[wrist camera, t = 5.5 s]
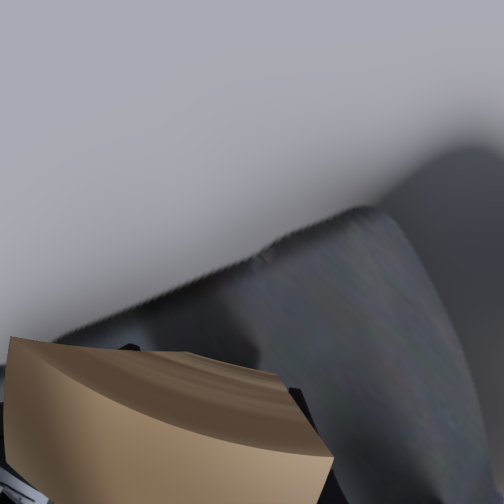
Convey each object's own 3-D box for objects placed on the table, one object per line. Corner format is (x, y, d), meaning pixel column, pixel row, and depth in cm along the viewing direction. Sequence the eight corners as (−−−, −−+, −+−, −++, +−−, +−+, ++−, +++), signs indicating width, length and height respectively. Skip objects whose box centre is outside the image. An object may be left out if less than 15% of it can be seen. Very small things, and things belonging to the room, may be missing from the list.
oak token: (265, 420, 14) (274, 581, 2) (175, 396, 14) (5, 461, 2) (276, 373, 15) (334, 457, 3) (186, 351, 15) (10, 336, 3)
